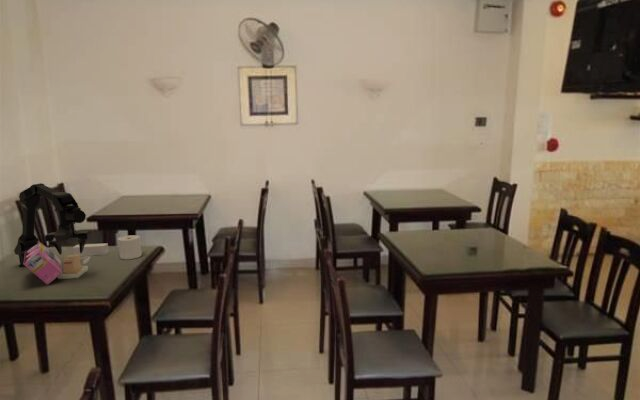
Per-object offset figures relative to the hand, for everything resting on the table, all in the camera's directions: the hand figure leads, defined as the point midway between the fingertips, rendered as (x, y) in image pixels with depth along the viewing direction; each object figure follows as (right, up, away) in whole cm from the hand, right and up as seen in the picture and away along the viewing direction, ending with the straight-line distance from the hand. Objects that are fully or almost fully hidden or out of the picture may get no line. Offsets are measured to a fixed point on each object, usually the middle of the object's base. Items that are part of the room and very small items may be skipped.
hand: (71, 253), depth 213 cm
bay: (-6, -5, +25) cm, 26 cm away
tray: (0, -10, +2) cm, 10 cm away
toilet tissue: (+16, -5, +27) cm, 32 cm away
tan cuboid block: (0, -9, +2) cm, 10 cm away
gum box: (-7, -8, 0) cm, 11 cm away
